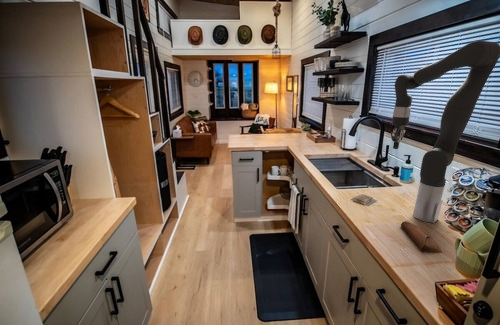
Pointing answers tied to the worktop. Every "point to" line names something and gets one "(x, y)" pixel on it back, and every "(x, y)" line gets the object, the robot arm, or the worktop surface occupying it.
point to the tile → (363, 199)
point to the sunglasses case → (421, 238)
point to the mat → (367, 203)
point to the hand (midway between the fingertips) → (395, 148)
